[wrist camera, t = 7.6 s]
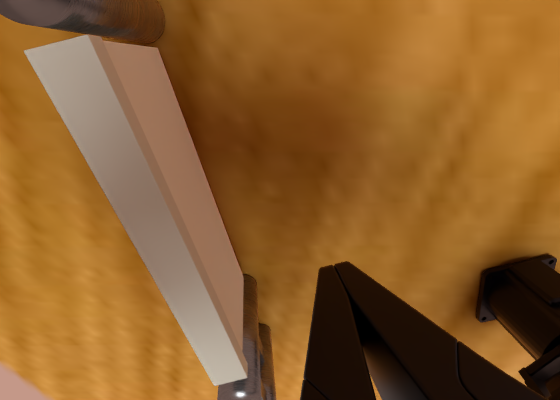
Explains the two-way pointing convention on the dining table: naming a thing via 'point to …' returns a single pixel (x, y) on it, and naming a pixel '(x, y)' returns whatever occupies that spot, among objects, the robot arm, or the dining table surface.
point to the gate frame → (145, 29)
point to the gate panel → (152, 185)
